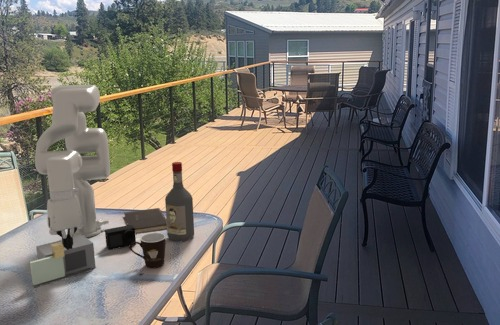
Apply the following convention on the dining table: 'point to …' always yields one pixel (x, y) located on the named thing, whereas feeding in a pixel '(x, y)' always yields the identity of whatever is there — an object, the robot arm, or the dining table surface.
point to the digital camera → (120, 237)
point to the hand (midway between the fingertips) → (68, 248)
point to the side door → (49, 266)
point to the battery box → (71, 257)
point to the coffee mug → (152, 249)
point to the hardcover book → (146, 220)
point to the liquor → (179, 208)
